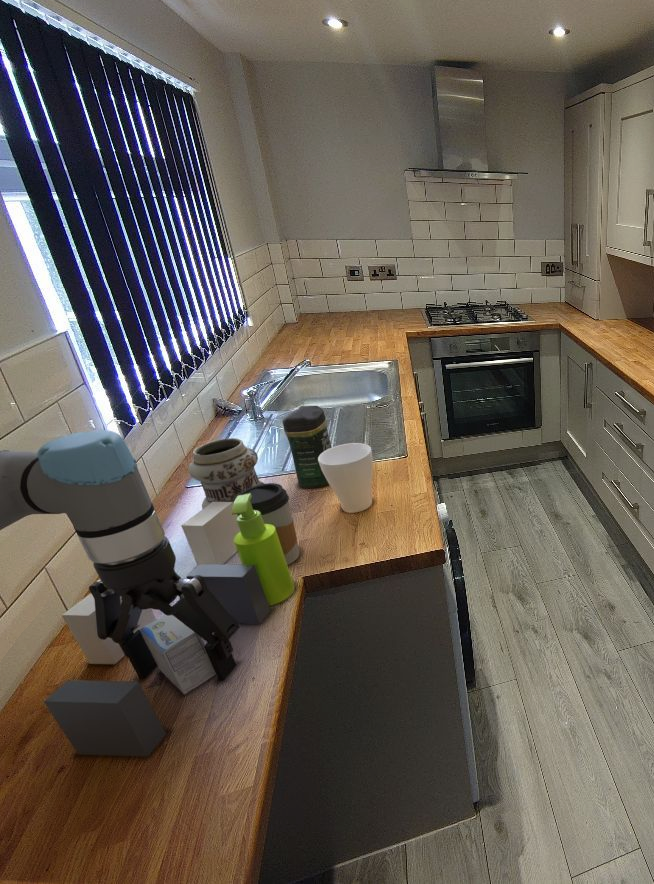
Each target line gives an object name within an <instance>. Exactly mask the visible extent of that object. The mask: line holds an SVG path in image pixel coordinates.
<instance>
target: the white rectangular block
mask: <svg viewBox="0 0 654 884" xmlns="http://www.w3.org/2000/svg"><path fill="white" fill-rule="evenodd" d="M121 599H122V597H121V596H120V604H121V602H122V600H121ZM61 617H62V618H63V621H64V622H65V624H66V625H67V627H68V629H69V631H70V632H71V634H72V636H73V638H74V639H75V641H76V643H77V644H78V647H79V648H80V650H81V651H82V653H83V656H84V657H85V658H86V660H87V662H88V664H89V665H116V664H117V663H118V662H120V661H121V659H122V658H124V657H126V656H125V654H124V653H123V651H122V649H121V647H120V645H119V643H115V642H114V641H113V640H112V638H107V639H105V640H102V639H100V638H99V637H98V635H97V624H96V612H95V600H94V597H93V596H92V594H91V592H90V593H89V594H88V595H86V596H85V597H84V598H83V599H81V600H79V601H78V602H77V603H75V604H74V605H73V606H72V607H71V608H69V609H68V610H67V611H65V612H64V613H62V614H61ZM155 620H157V618H156V616H155V614H154V612H153V609H151V608H150V609H145V610H144V609H142V612H141V615H140V618H139V621H138V625H140V626H139V627H138V628H136V629H135V630H134V631H133V632H134V633H135V632H136V631H137V630H140V629H142V628H143V627H145V626H147V625H148V624H150V623H152V622H154V621H155ZM138 625H137V626H138Z"/></svg>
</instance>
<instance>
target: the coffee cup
mask: <svg viewBox="0 0 654 884" xmlns="http://www.w3.org/2000/svg"><path fill="white" fill-rule="evenodd" d="M250 493H251V495H252V497H251V499H250V502H251V505H252V508H253V510H258V511H260V512H261V515H262V518H263V521H264V524H271V525H273V526H274V527H275V529H276V532H277V535H278V538H279V541H280V544H281V547H282V551H283V554H284V557H285V560H286V563H287V566H289V565H290V564H292V563H294V562H296V560H297V559H298V558H299V557H300V553H301V552H300V547H299V543H298V537H297V532H296V527H295V522H294V518H293V515H292V510H291V506H290V505H291V504H290V501H289V500H290V496H289V495H288V492H287V490H286V489H285V488H284V487H283V486H282V485H281V484H279V483H275V482H274V483H273V482H269V483H265V484H260V485H257V486H253V487H251V488H248V489H246V490H244V491H242V492H241V493H239V494H238V495H237V496H239V495H244V494H250ZM238 515H240V514H238Z"/></svg>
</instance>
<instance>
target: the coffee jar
mask: <svg viewBox="0 0 654 884" xmlns="http://www.w3.org/2000/svg"><path fill="white" fill-rule="evenodd" d="M282 428H283V432H284V434H285V436H286V438H287V441H288V444H289V447H290V452H291V457H292V461H293V465H294V469H295V474H296V479H297V482H298V483H297V484H298V485H299V487H300V488H304V489H315V488H321V487H325V486H328V485H329V483H328V481H327V479H326V478H325V476H324V474H323V472H322V470H321V467H320V464H319V462H318V457H319V455H320V454H321V453H323V452H324V451H326V450H327V449H330V448H332V447H333V446H332V444H331V439H330V436H329V433H328V431H329V430H328V423H327V418H326V415H325V411H324V410H323V408H321V407H320V406H319V405H300V406H299V407H298V408H296V409H294V410H293V411H291V412H290V413H288V414H287V416H285V417H284V418H283V419H282Z"/></svg>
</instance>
